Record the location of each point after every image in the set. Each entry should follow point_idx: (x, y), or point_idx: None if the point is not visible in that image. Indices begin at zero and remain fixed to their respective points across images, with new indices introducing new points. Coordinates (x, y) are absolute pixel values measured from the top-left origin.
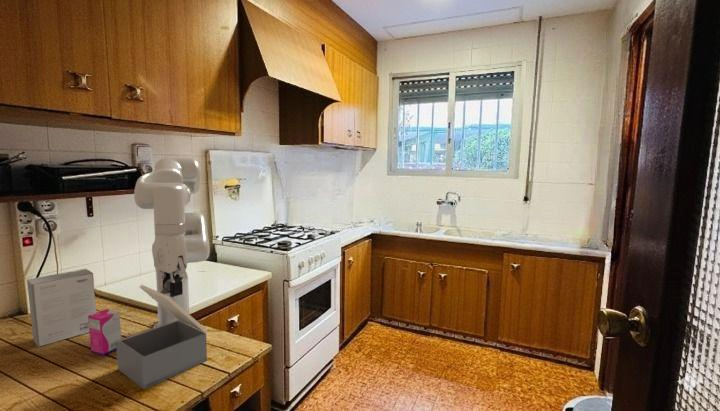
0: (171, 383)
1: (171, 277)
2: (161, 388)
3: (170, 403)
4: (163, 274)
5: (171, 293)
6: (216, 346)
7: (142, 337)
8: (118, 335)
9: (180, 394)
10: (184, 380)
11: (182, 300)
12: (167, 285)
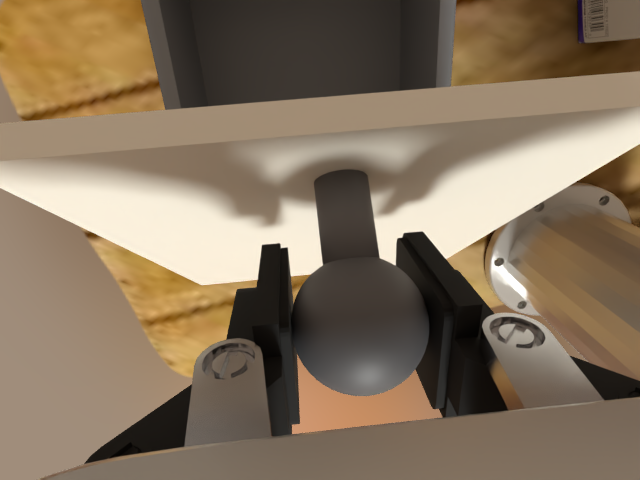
0: (148, 68)
1: (237, 400)
2: (136, 26)
3: (7, 6)
4: (515, 371)
5: (262, 261)
6: (293, 284)
7: (429, 62)
8: (624, 24)
9: (49, 59)
10: (138, 111)
11: (580, 334)
12: (319, 287)
